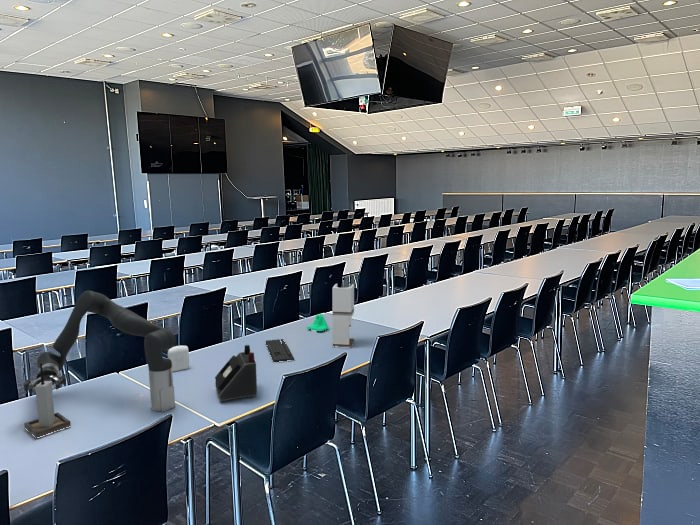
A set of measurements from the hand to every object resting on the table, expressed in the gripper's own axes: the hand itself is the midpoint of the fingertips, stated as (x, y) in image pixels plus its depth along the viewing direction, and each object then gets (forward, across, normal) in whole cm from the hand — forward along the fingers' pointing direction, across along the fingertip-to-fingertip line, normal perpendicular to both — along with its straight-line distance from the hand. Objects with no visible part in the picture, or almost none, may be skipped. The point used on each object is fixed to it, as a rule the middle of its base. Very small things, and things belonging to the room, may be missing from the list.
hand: (44, 389), depth 193 cm
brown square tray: (+1, 0, +16) cm, 16 cm away
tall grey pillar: (-38, +146, +16) cm, 152 cm away
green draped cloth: (-71, +143, +16) cm, 161 cm away
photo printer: (-40, +54, +16) cm, 69 cm away
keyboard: (-44, +109, +16) cm, 118 cm away
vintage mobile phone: (+1, 0, +14) cm, 14 cm away
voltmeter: (+2, +73, +16) cm, 75 cm away
